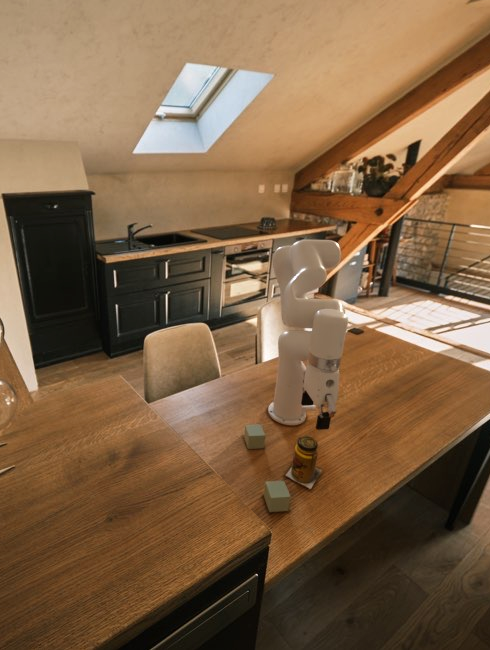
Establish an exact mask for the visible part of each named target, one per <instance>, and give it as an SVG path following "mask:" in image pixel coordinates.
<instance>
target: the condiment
mask: <svg viewBox="0 0 490 650" xmlns="http://www.w3.org/2000/svg"><path fill="white" fill-rule="evenodd" d="M318 445H319V444H318V442H317V441H316V439H315V438H314V437H311V436H308V435H302V436H299V437H298V439H297V440H296V444H295V447H294V452H293V457H292V465H291V467H290V469H289V470H287V471H288V472H286V474H285V475H284V476H285V477H287V478H289V479H291V480H292V481H294V482H296V483H298V484H299V485H302V486H304V487H306V488H308V489H309V490H311V489H312V487H313V486H314V484H315V483H316V481H317V480H318V478H319V476H320V475H321V473H322V472H323V469H321V468H318V467H317V466H316V465H317V460H318V455H319V452H318V448H319V446H318Z"/></svg>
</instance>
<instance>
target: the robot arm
mask: <svg viewBox="0 0 490 650" xmlns="http://www.w3.org/2000/svg"><path fill="white" fill-rule="evenodd" d="M272 257H273V258H272V266H273V272H274V275H275V278H276V282H277V284H278V287H279V293H280V295H279V296H280V315H281V321H282V323H283V325H284V327H287V328H294V329H291V330H285V331H283V332H282V333H281V334H279V337H278V340H277V348H278V349H277V351H278V361H277V372H276V381H275V389H274V396H273V401H272V402H271V403H270V404H268V408H267V414H268V415H269V417H270V418H271V419H272V420H273V421H275V422H277V423H278V424H281V425H285V426H299V425H301V424H303V423H304V422H305V420H306V418H307V413H308V412H316V411H317V408H318V414H317V417H316V423H315V429H316V430H317V431H319V430H320V431H321V430H323V431H324V430H329V429H330V425H331V419H333V418H334V417H335V415H336V414H337V408H336V406H337V403H338V397H339V389H340V371H339V369H340V367H341V363H342V356H343V351H344V346H345V341H346V335H347V332H348V325H349V317H348V315H347V314H346V308H345V307H344V305H343V303H342V302H341V301H339V300H338V299H329V298H310V297H309V298H308V293H310V292H313V291H315V290H317V289H319V288H321V287H322V286H323V285H324V284H325V283H326V281H327V278H328V273H327V271H332V270H334V269H336V268H337V267H338V266H339V264H340V262H341V259H342V251H341V247H340V245H339V244H338V243H337V242H336V241H334V240H332V239H301V240H298V241H296V242H294V243H293V244H292V245H284V246H280V247H277V249H276V250H275V251H274V253H273V256H272ZM297 329H311V330H297ZM304 362H306V363H307V364H306V365H305V363H304ZM324 402H325V403H326V404H325V403H324ZM323 408H326V409H327V411H324V409H323Z"/></svg>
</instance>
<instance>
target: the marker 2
mask: <svg viewBox="0 0 490 650" xmlns="http://www.w3.org/2000/svg"><path fill="white" fill-rule="evenodd" d="M263 497H264V501H265V504H266V507H267V510H268V513H277V512H289V509H290V503H291V498H292V497H291V494H290V492H289V489H288V486H287V484H286V482H285V480H277V481H276V480H274V481H265V482H264V491H263Z"/></svg>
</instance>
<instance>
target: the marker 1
mask: <svg viewBox="0 0 490 650" xmlns="http://www.w3.org/2000/svg"><path fill="white" fill-rule="evenodd" d="M243 440H244V442H245V445H246V447H247V450H253V449H256V450H257V449H265V442H266V441H265V440H266V433H265V431H264V429H263V426H262V424H260V423H259V424H257V423H256V424H244V434H243Z"/></svg>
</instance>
